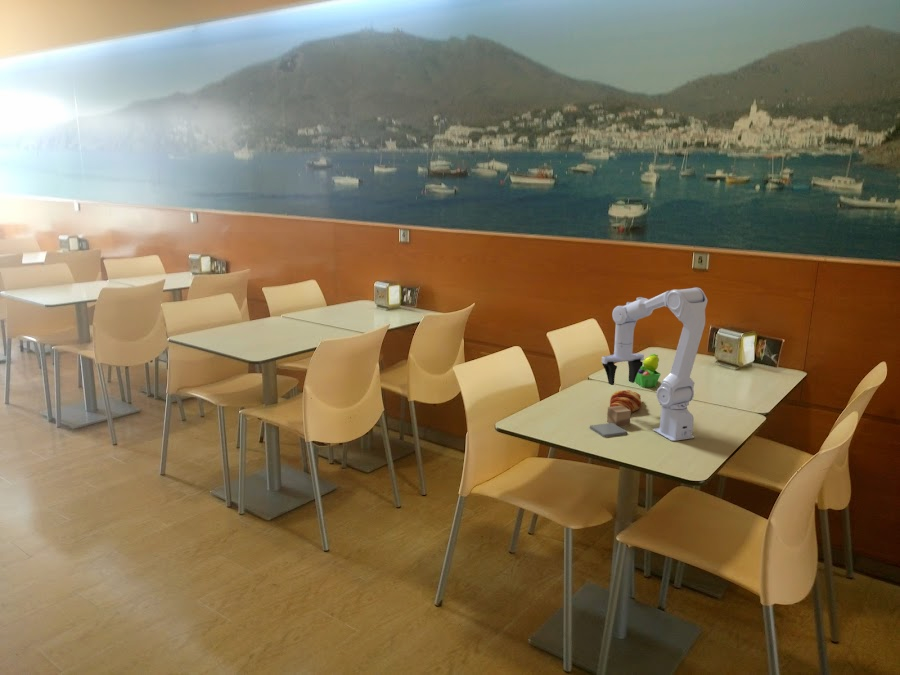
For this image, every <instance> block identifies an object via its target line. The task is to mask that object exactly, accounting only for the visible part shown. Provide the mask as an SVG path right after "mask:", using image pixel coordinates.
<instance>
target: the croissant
mask: <svg viewBox="0 0 900 675" xmlns="http://www.w3.org/2000/svg"><path fill="white" fill-rule="evenodd" d="M641 398H642V397H641V394H639V393H638V392H636V391H633V390H631V389H630V390H629V389H621V390H618V391H615V392H613V394H612V395H611V397H610V400H609V407H614V406H624V407H625V408H627V409H629V410H631V413H634V412H635V411H637V410H639V409H641V407H642V399H641Z"/></svg>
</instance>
